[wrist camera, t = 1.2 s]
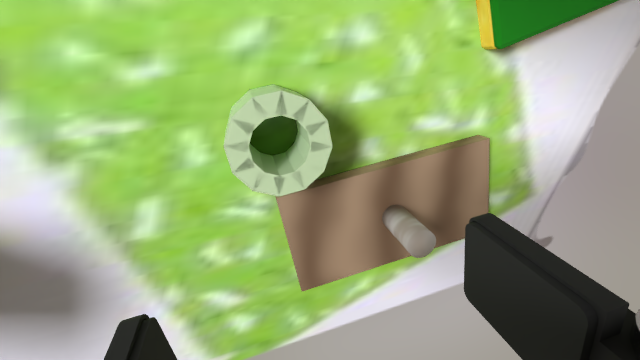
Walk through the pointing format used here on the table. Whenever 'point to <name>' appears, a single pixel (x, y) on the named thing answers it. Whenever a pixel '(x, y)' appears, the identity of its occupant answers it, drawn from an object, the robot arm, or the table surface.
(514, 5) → the dish sponge
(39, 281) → the table surface
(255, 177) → the ring
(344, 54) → the table surface
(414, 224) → the post stand
